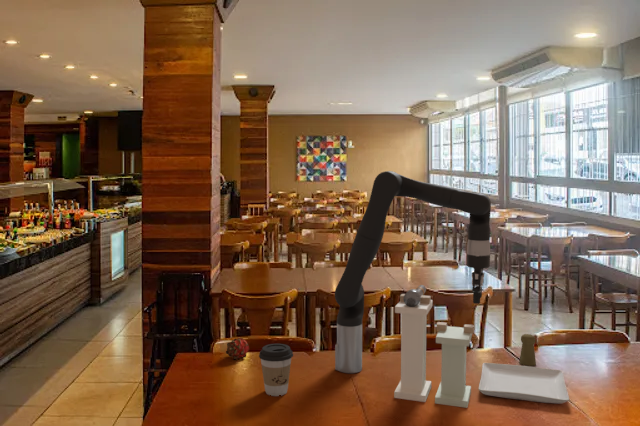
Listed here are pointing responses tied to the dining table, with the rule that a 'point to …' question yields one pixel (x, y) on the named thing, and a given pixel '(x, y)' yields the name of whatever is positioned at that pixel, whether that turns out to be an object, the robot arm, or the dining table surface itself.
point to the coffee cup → (276, 368)
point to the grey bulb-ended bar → (414, 296)
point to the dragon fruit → (237, 348)
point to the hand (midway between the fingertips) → (477, 300)
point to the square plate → (523, 383)
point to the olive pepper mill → (527, 350)
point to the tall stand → (413, 350)
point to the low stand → (453, 364)
